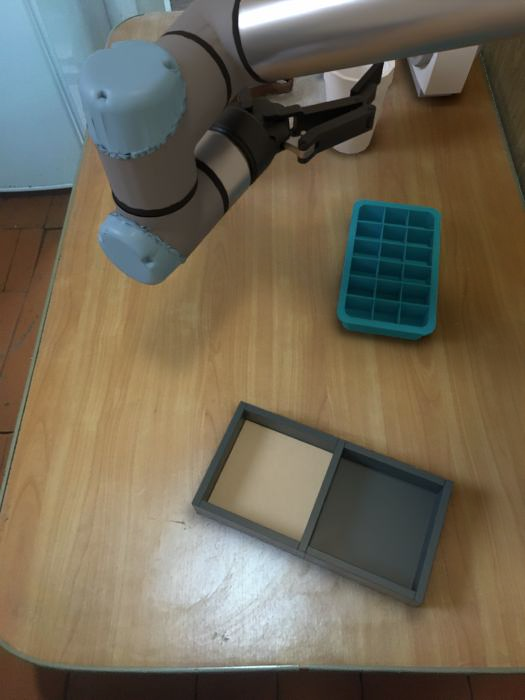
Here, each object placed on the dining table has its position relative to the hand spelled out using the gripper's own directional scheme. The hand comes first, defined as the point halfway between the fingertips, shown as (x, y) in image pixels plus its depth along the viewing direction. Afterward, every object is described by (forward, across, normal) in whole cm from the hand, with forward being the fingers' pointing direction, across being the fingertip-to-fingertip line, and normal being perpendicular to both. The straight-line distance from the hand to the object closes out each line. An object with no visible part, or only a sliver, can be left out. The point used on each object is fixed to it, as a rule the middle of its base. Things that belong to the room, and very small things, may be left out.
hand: (327, 51), depth 64 cm
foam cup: (+10, 0, -20) cm, 22 cm away
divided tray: (-41, +24, -19) cm, 51 cm away
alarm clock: (+30, +4, -20) cm, 36 cm away
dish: (+12, -24, -20) cm, 33 cm away
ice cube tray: (-11, +17, -20) cm, 28 cm away
